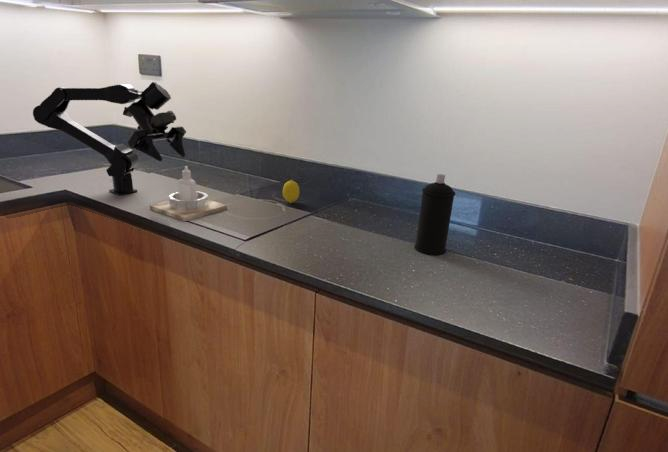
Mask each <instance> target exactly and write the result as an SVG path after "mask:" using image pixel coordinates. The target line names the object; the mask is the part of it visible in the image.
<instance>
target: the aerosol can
mask: <svg viewBox="0 0 668 452" xmlns="http://www.w3.org/2000/svg"><path fill="white" fill-rule="evenodd" d="M445 177H446V174H443V173H438V174H436V179H435V180H436V181H435V182H431V183H428V184H427V185H426V186H424V187H423V188H422V189H421V192H422V196H421V201H420V210H419V211H420V212H419V217H418V225H417V230H416V231H417V233H416V241H415V244H414V249H415V250H416V251H417V252H419V253H421V254H424V255H428V256H441V255H444V254H446V252H447V249H446V247H447V242H448V237H449V236H448V235H449V228H450V223H451V217H452V211H453V205H454V204H453V203H454V198H455V195H456V192H455V191H454V190H453V188H452V187H451V186H450V185H449V184H446V183H445V180H446V179H445Z"/></svg>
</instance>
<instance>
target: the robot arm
mask: <svg viewBox="0 0 668 452" xmlns="http://www.w3.org/2000/svg"><path fill="white" fill-rule="evenodd" d="M171 99H172V97H171V94H170V93H169V92H168V90H166V89H165V88H164V87H162V86H161V85H160V84H158V83H157V82H156V81H152V82H151V83H150V84H149V86H147V87H146V88H145V89H144V90H139V89H136V88H135V87H134V86H133V85H132V84H130V83H129V84H128V83H125V84H122V83H121V84H114V85H109V86H106V87H67V86H64V87H62V86H61V87H56V88H54V89H53V91H52V92H51V94H50V95H48V97H46V98H45V99H44V100H43V101H42V102H41V103H40V104H39V105H37V106H35V107H33V110H32V116H33V119H34V121H36V123H38V124H40V125H42V126H44V127H48V128H50V129H55V130H58V131H61V132H64V133H65V134H67V135H68V136H70V137H71V138H73V139H75V140H76V141H78V142H80V143H82V144H83V145H85V146H87V147H88V148H90V149H92V150H93V151H95V152H97V153H99V155H102V156H103V157H104V158H105V160H107V162H108V163H109V164H110V165H109V167H108V168H107V169H106V173H107V175H108V177H111V180H112V186H113V187H112V188H111V189H109V190H108V192H111V193H113V194H116V195H118V196H120V195H126V194H131V193H132V194H133V193H135V192H138V189H136V188H134V185H133V178H132V177H133V176H132V172H134V171H135V168H136V167H137V166H138V165H139V160H140V159H139V156H138V154H137V152H135V150H136V151H139V152H142V153H143V154H146V155H147V156H149V157H151V158H154V159H155V160H157V161H158V162H162V161H163V157H162V155H161V154H160V152H159V150H157V148H156V146H155V144H154V143H153V141H162V140H163V141H164V140H165V141H166V142H167V143H170V144H169V146H170V147H171V148H172V149H173V150H174V151H175V152H176V153H177V154H178V155H179V156H181V157H182V158H185V156H186V153H185V149H184V145H183V138H184V137H185V134H186V133H187V131H186V129H185V128H184V127H183V126H172V127H171V128H169V126H168V125H170V124H174V123H175V121H177V116H176V114H175V113H174V111H173V110H167V111H165V112H159V113H156V114H154V113H153V112H152V110H157V111H159V110H160V109H161V108H162V107H164V105H165V104H166V103H168V102H169V101H170V100H171ZM136 100H137V101H136ZM71 101H106V102H108V103H113V104H117V105H118V104H119V105H126V104H130V105H129V106H125V107H124V110H123V112H122V115H123V116H124V117H125V116H126V117H128V118H133V120H135V122H136V124H137V130H134V131H132V134H131V135H130V137H129V139H127V143H128V146H129V147H128V146H127V145H125V143H121V144H117V145H114V144H112V143H110V142H109V141H107V140H106V139H104V138H103V137H101V136H99V135H98V134H96V133H94V132H92V131H90V130H89V129H88V128H86V127H84V126H82V125H81V124H79V123H77V122H76V121H74V120H73V119H72V118H71V117H70V115H69V114H68V113H67V112H66V110H67V109H68V106H69V104H70V102H71ZM168 128H169V131H167V130H168ZM166 131H167V132H166Z"/></svg>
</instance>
